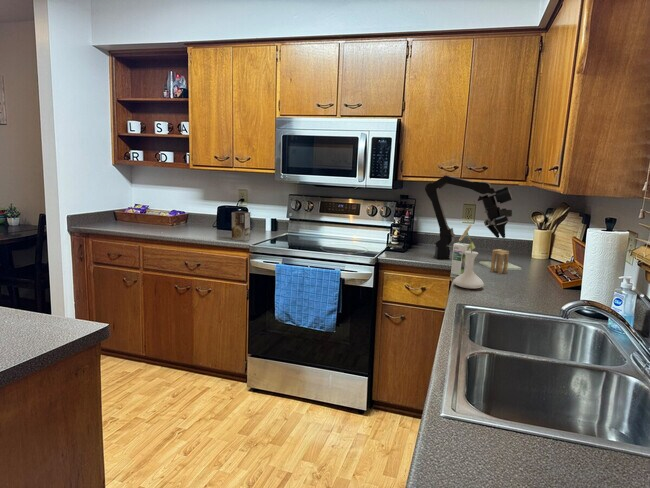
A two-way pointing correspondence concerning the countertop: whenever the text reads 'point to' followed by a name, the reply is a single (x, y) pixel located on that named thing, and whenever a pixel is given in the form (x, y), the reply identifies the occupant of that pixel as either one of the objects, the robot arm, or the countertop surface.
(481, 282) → the flower in vase
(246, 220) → the coffee box
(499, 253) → the wooden footstool
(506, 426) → the countertop surface
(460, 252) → the syrup box
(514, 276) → the countertop surface
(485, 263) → the board
